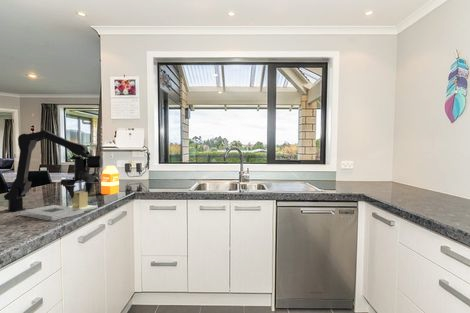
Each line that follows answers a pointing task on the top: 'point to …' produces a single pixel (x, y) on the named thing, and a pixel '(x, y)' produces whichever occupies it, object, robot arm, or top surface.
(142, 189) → the top surface
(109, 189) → the orange juice
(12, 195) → the robot arm
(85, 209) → the pad
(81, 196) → the tan wooden block
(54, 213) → the hole plate
